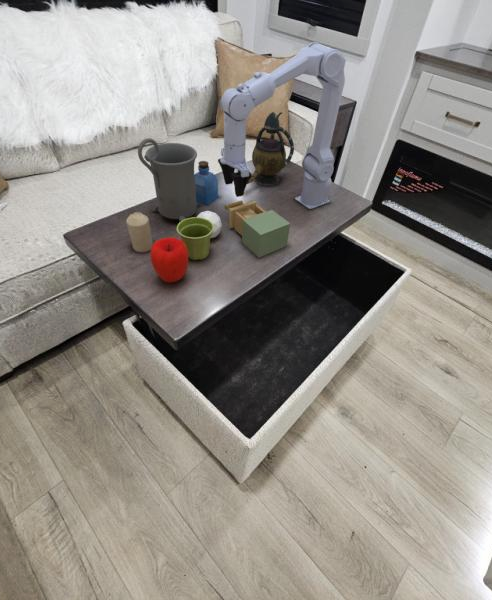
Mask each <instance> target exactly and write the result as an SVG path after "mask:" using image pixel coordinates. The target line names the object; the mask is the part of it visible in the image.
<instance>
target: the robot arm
mask: <svg viewBox="0 0 492 600" xmlns="http://www.w3.org/2000/svg"><path fill="white" fill-rule="evenodd" d="M346 61H347V60H346V58H345V56H344V55H343V54H342V53H341V50H338V49H336V48H332V47H329V46H326V45H323V44H321V43H320V42H318V41H314V42H311V43H309V44H308V45H307V46H304V47H302V48H301V49H300V50H299V52H298V53H297V54H295V55H294V56H293V57H291V58H290V59H288V60H287V61H285V62H284V63H283V64H281V65H280V66H279V67H277V68H276V69H274V70H273V71H271V72H270V73H267V72H265V71H262V72H260V71H256V72H255V73H253V77H252V78H250V79H248V80H247V81H245V82H244V83H239V84H237V87H236V88H235V87H230V88H228V89H226V90H225V91H224V92H223V94H222V95H221V100H219V106H220V109H221V110H222V111H223V148H221V149H220V155H221V156H222V158H218V159H217V163H218V164H219V166H220V169H221V171H222V176H223V180H224V184H225V185H226V186H227V185H232V184H233V186H234V194H235V197H237V198H238V197H239V198H240V197H243V196H244V194H245V191H246V188H247V185H248V184H247V183H248V181H249V180H250V178H251V177H252V175H253V173H252V172H251V171H250V168H248V164H247V159H246V140H247V139H246V138H247V119H248V118H249V116H250V115H251V112H252V111H253V109H255V108H256V107H258V106H259V105H261V104H263V103H264V102H266V101H267V100H270V98H272V97H273V96H274V94H275V91H276V89H277V88H279V87H281V86H282V85H284V84H286V83H289V82H290V81H293V80H294V79H296V78H298V77H300V76H301V75H306V76H311V77H312V76H313V77H316V79H317V80H318V82H319V83H320V85H321V86H322V90H321V97H320V100H319V106H318V112H317V117H316V122H315V128H314V133H313V139H312V144H311V145H309V146H308V147H306V151H305V154H304V156H303V158H302V161H301V167H302V169H303V174H304V175H303V180H302V181H303V182H302V187H301V193H300V195H299V196H296V197H295V198H294V200H295V201H297V202H298V203H299V204H301V205H303V206H304V207H305V208H307V209H308V210H313V209H316V208H319V207H321V206H323V205H327V204H329V203H330V200H329V198H330V193H331V188H332V183H333V182H332V178H331V177H332V175H333V174H334V169H335V167H334V161H335V160H334V159H335V157H334V154H333V151H332V150H331V145H332V140H333V135H334V131H335V127H336V122H337V118H338V113H339V110H340V105H341V100H342V96H343V93H344V92H343V91H344V87H345V82H346V79H345V66H346ZM235 170H236V172H235Z"/></svg>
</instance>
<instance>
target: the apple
mask: <svg viewBox="0 0 492 600" xmlns="http://www.w3.org/2000/svg"><path fill="white" fill-rule="evenodd" d="M149 255H150V262H151V265H152V267H153V269H154V271H155V272H156V274H157V275H158V276H159V278H160V279H161V280H162V281H163V282H166V283H175V282H178V281H180V280H181V279H182V278H183V277H184V276H185V274H186V271H187V269H188V265H189V257H188V251H187V248H186V245H185V243H184V242H183V241H182V239H180V238H177V237H172V236H171V237H164V238H161V239H158V240H156V241H153V245H152V248H151V250H150V254H149Z"/></svg>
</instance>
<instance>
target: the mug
mask: <svg viewBox="0 0 492 600" xmlns="http://www.w3.org/2000/svg"><path fill="white" fill-rule="evenodd" d="M148 143H149V144H152V145H153V146H151V147H149V148H147V150H146V151H145V155H144V156H143V148H144V147H145V145H146V144H148ZM137 156H138V159H139V161H140V162H141V163H142V164H143V165H144V166H145V167H146V168H147V169H148V171H150V173H151V174H152V177H153V184H154V189H155V195H156V201H157V202H156V203H155V205H154V207H153V209H151V211H152V213H156V212H157V211H158V213H159V214H160V215H161V216H162V217H165V218H167V219H170V220H178V221H179V223H180V222H181V221H182V220H184V219H187V218H191V217H193V215H194V214H195V213H196V212H197V210H198V206H199V202H198V201H196V190H195V161H196V159H197V157H198V152H197V150H196V149H195V148H194V147H192V146H190V145H188V144H184V143H178V142H165V143H158V142H157V141H156V140H155V139H153V138H151V137H148V138H144V139H143V140H141V142H140V143H139V145H138V147H137Z"/></svg>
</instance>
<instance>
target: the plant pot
mask: <svg viewBox="0 0 492 600" xmlns="http://www.w3.org/2000/svg"><path fill="white" fill-rule="evenodd" d="M213 230H214V226H213V224H212V222H211V221H209V220H207V219H205V218H200V217H197V216H194V217H193V216H191V217H187V218H185V219H184V220H182V221H181V222H180V221H179V223H177V226H176V232H177V234H178V235H179V236H180V238H181V241H183V242H184V243H185V245H186V248H187V251H188V259H190V260H192V261H198V260H204V259H206V258H207V257H208V256H209V254H210V246H211V239H212V238H211V234H212V232H213Z"/></svg>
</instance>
